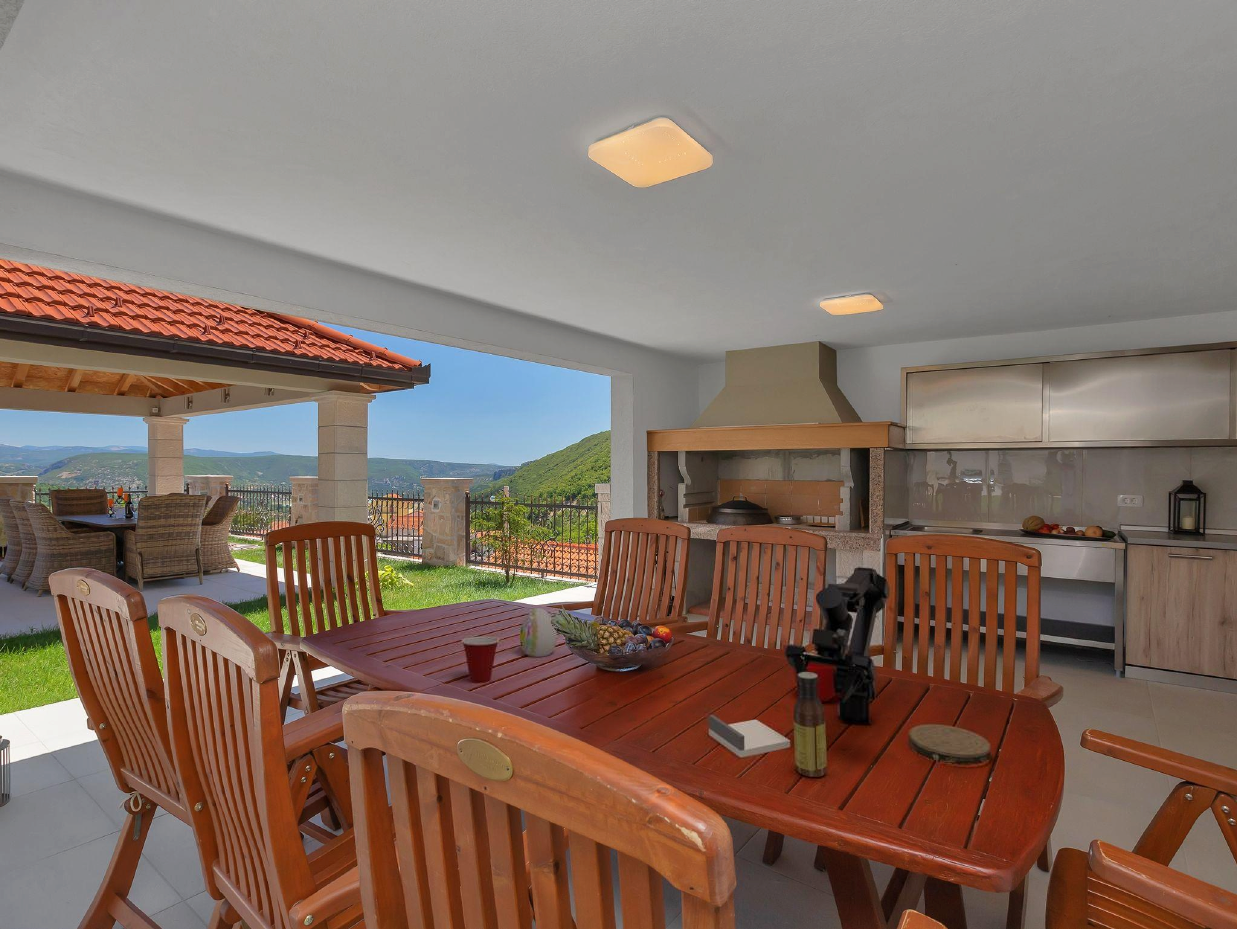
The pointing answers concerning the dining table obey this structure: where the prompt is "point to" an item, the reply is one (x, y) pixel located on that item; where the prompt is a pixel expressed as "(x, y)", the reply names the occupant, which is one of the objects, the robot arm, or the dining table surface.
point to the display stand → (746, 737)
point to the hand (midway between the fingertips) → (820, 697)
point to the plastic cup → (480, 657)
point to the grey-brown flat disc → (949, 744)
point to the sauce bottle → (809, 728)
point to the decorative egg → (538, 634)
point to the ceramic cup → (822, 680)
